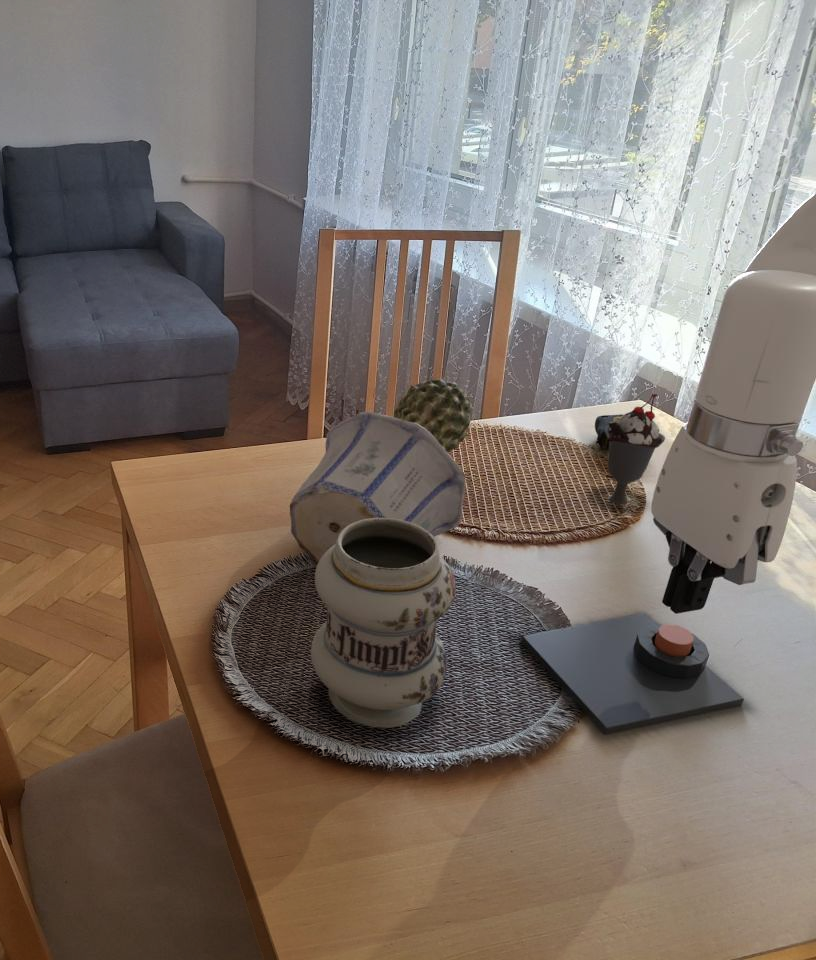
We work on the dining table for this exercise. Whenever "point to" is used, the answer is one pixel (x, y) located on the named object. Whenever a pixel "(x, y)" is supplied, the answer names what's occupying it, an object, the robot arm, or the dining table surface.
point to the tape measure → (600, 429)
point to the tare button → (674, 640)
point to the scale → (629, 673)
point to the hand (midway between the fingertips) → (682, 606)
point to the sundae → (631, 448)
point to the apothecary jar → (382, 620)
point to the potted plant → (388, 469)
